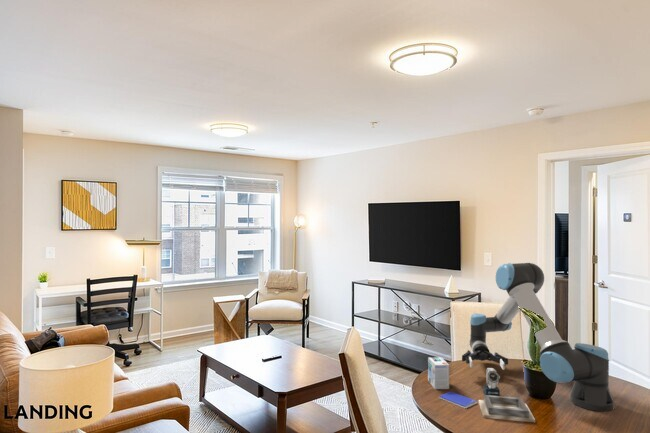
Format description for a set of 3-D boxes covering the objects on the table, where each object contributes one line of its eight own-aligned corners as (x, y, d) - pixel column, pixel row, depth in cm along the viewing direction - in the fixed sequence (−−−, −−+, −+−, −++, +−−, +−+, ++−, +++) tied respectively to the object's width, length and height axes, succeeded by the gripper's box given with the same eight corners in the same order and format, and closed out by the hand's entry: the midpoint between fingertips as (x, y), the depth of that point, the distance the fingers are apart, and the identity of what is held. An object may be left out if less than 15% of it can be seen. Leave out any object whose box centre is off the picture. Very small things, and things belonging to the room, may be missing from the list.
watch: (487, 398, 179) (487, 372, 179) (482, 390, 187) (482, 365, 187) (501, 399, 178) (501, 372, 178) (495, 391, 186) (495, 365, 186)
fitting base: (526, 406, 171) (526, 397, 171) (535, 422, 158) (535, 412, 158) (478, 402, 175) (478, 393, 175) (483, 417, 161) (483, 408, 161)
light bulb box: (427, 380, 199) (427, 357, 199) (441, 380, 199) (441, 356, 199) (434, 389, 188) (434, 364, 188) (449, 389, 189) (449, 364, 189)
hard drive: (477, 400, 174) (451, 390, 184) (465, 405, 169) (439, 395, 179) (477, 404, 174) (451, 394, 184) (465, 409, 169) (439, 399, 179)
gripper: (507, 360, 210) (517, 376, 190) (454, 356, 216) (458, 371, 195) (507, 344, 210) (517, 359, 190) (454, 341, 216) (458, 355, 195)
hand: (487, 365), depth 192 cm, fingers open, 13 cm apart
